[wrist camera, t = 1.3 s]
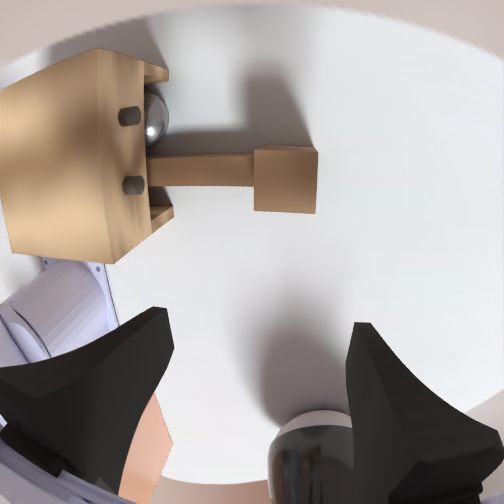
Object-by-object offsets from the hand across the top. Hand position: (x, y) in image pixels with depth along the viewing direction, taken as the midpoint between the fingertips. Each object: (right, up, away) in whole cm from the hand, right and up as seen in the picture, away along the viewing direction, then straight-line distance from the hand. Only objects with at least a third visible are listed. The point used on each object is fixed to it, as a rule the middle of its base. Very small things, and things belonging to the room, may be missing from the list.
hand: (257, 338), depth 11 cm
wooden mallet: (-4, +11, +8) cm, 14 cm away
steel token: (-8, +12, +8) cm, 17 cm away
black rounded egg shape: (+7, -15, +17) cm, 23 cm away
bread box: (-10, +11, +9) cm, 17 cm away
